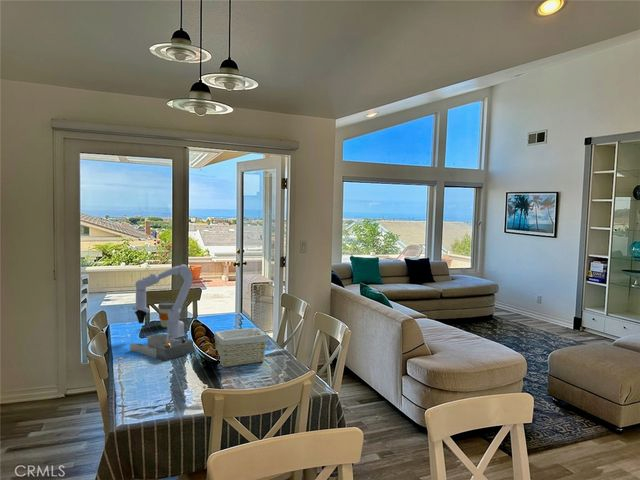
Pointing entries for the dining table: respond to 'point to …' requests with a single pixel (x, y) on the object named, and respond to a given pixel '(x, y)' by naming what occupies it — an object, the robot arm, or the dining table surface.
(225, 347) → the storage basket
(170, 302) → the reusable coffee cup
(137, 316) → the robot arm
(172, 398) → the dining table surface
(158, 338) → the teacup
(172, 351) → the motor block
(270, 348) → the dining table surface
